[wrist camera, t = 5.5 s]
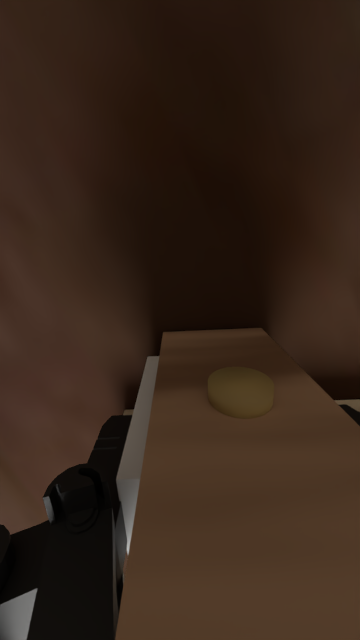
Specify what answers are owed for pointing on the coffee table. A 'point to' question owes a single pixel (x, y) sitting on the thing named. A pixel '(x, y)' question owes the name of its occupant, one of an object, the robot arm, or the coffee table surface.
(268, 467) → the block
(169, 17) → the coffee table surface
